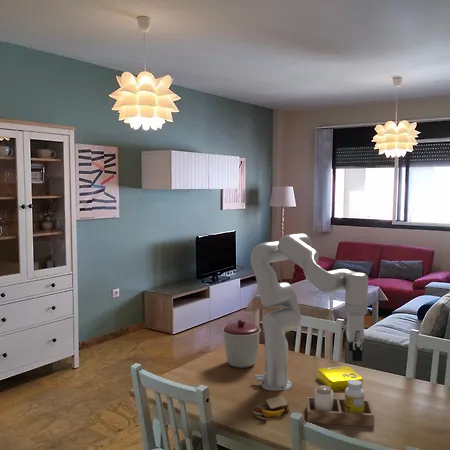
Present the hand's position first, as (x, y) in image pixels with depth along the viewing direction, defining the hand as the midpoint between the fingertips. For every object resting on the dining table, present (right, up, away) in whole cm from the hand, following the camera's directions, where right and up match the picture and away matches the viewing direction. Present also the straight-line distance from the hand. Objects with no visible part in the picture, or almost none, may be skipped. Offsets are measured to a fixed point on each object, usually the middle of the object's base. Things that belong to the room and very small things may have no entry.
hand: (355, 355), depth 170 cm
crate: (-5, -23, +3) cm, 24 cm away
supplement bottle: (0, -23, +2) cm, 23 cm away
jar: (-11, -22, +3) cm, 25 cm away
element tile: (+2, -21, +34) cm, 40 cm away
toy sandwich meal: (-29, -23, +7) cm, 38 cm away
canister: (-38, -19, +56) cm, 70 cm away
